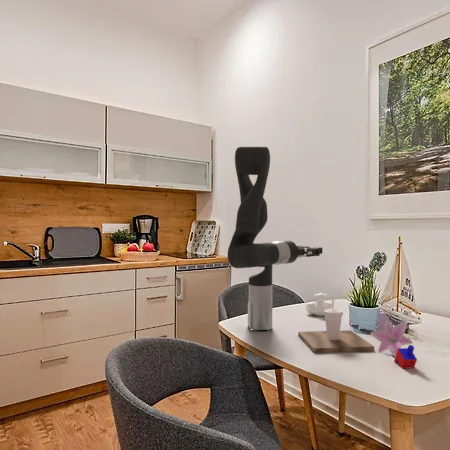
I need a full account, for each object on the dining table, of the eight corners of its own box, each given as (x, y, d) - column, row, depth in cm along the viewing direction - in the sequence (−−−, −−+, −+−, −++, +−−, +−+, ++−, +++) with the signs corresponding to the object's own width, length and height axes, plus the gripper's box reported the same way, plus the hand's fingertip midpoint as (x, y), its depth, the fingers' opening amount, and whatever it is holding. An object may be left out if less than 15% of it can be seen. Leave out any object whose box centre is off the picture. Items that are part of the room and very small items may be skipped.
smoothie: (340, 336, 135) (340, 296, 135) (344, 341, 129) (345, 300, 129) (322, 335, 136) (322, 296, 136) (325, 341, 130) (325, 300, 129)
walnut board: (313, 352, 123) (314, 348, 123) (298, 335, 141) (298, 331, 140) (374, 351, 124) (374, 346, 124) (351, 334, 142) (351, 330, 142)
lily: (367, 348, 130) (363, 327, 126) (396, 333, 132) (393, 312, 128) (392, 372, 119) (389, 350, 115) (423, 355, 121) (421, 332, 117)
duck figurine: (306, 320, 171) (311, 303, 163) (302, 306, 176) (307, 290, 169) (332, 319, 171) (338, 303, 164) (328, 306, 177) (333, 289, 170)
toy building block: (400, 372, 111) (407, 352, 107) (394, 361, 115) (400, 341, 111) (412, 372, 111) (419, 352, 107) (405, 360, 115) (412, 341, 111)
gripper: (297, 242, 120) (328, 240, 131) (265, 240, 131) (295, 238, 142) (297, 266, 121) (328, 262, 131) (265, 262, 131) (295, 258, 142)
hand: (311, 249), depth 136 cm, fingers open, 8 cm apart
